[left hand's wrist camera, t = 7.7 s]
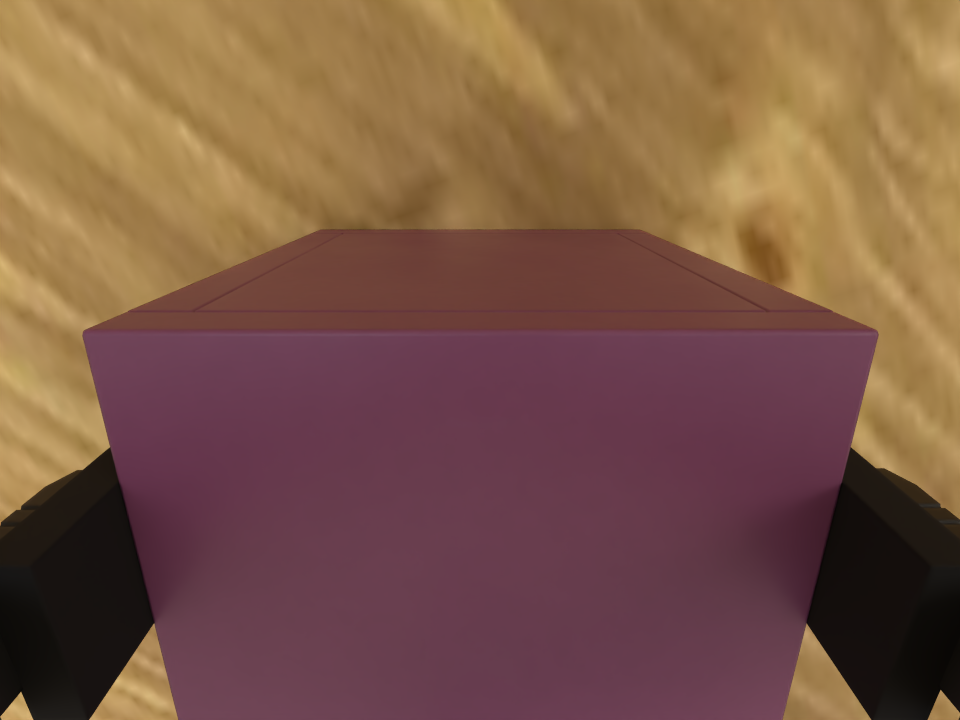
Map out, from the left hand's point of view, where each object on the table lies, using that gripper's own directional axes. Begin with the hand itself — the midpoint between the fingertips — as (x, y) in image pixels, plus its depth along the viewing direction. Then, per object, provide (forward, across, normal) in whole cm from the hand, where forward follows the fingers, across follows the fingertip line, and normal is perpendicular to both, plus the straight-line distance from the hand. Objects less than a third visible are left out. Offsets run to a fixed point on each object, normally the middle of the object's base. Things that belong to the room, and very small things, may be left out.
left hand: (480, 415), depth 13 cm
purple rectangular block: (+7, 0, -7) cm, 10 cm away
